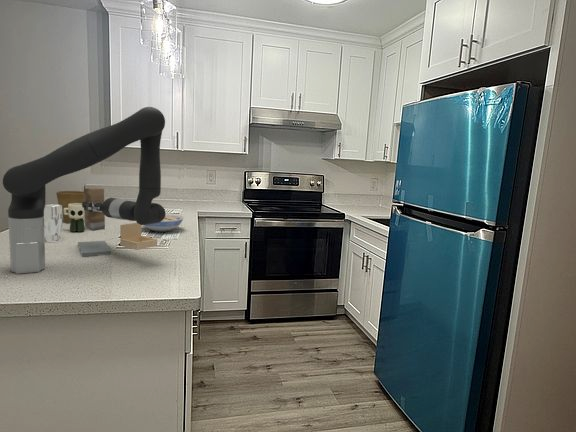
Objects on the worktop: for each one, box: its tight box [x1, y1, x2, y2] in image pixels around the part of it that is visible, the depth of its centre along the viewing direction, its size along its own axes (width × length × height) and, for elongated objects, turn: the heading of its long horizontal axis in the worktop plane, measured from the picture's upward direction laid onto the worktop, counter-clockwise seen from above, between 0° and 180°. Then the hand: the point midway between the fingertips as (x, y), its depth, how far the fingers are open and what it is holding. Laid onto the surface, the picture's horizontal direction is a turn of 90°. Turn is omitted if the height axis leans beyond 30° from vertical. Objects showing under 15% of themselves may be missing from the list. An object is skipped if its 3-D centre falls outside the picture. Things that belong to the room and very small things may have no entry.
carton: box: [119, 222, 158, 251], centre depth 156 cm, size 13×16×9 cm
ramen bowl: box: [142, 212, 185, 233], centre depth 191 cm, size 25×23×8 cm
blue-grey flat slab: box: [77, 240, 113, 258], centre depth 147 cm, size 18×10×2 cm, turn 33°
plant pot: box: [55, 190, 84, 224], centre depth 196 cm, size 15×15×16 cm
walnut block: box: [83, 187, 106, 232], centre depth 145 cm, size 5×5×16 cm
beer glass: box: [44, 203, 64, 243], centre depth 156 cm, size 7×7×15 cm
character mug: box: [64, 203, 86, 232], centre depth 176 cm, size 11×7×13 cm, turn 115°
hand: (90, 204), depth 146 cm, fingers closed on walnut block, 5 cm apart
